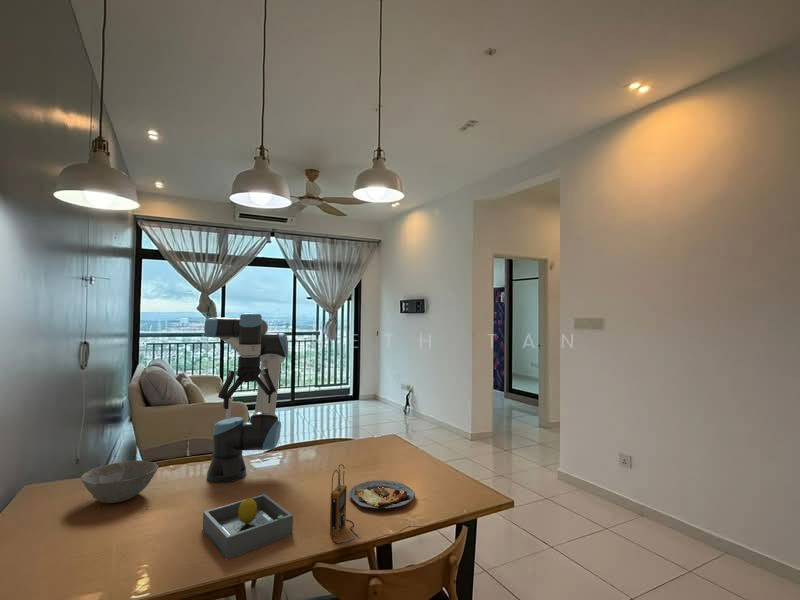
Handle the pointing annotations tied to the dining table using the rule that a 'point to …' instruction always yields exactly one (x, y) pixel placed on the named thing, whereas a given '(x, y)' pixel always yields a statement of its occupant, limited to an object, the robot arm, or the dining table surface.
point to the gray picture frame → (237, 526)
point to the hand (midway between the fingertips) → (247, 415)
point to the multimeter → (338, 509)
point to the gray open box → (249, 537)
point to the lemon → (247, 511)
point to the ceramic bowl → (119, 480)
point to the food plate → (373, 501)
